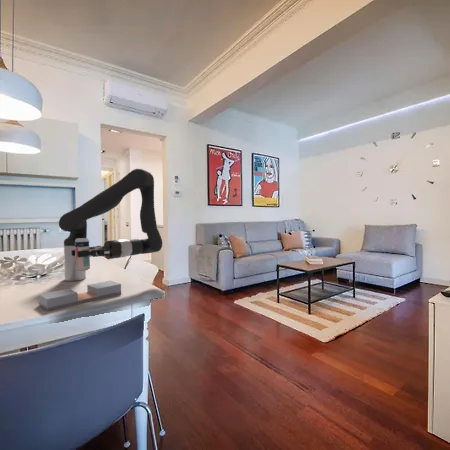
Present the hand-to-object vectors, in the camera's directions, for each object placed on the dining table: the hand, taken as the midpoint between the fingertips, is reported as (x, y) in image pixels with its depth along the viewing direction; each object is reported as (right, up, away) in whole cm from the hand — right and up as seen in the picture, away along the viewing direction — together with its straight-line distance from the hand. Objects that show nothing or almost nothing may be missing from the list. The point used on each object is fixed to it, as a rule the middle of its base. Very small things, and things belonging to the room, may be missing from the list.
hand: (74, 253), depth 100 cm
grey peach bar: (+2, -18, +3) cm, 18 cm away
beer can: (+2, -7, +2) cm, 7 cm away
